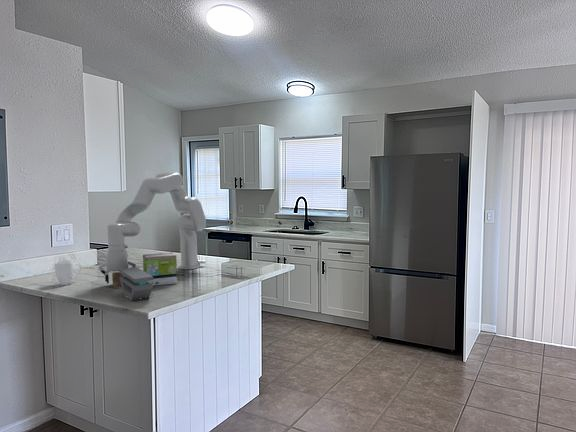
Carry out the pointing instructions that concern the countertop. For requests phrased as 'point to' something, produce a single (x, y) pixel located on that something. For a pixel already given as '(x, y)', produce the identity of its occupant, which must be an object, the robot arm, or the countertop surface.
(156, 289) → the countertop surface
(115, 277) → the walnut block
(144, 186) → the robot arm
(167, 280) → the tea box
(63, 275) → the mug
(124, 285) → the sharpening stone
